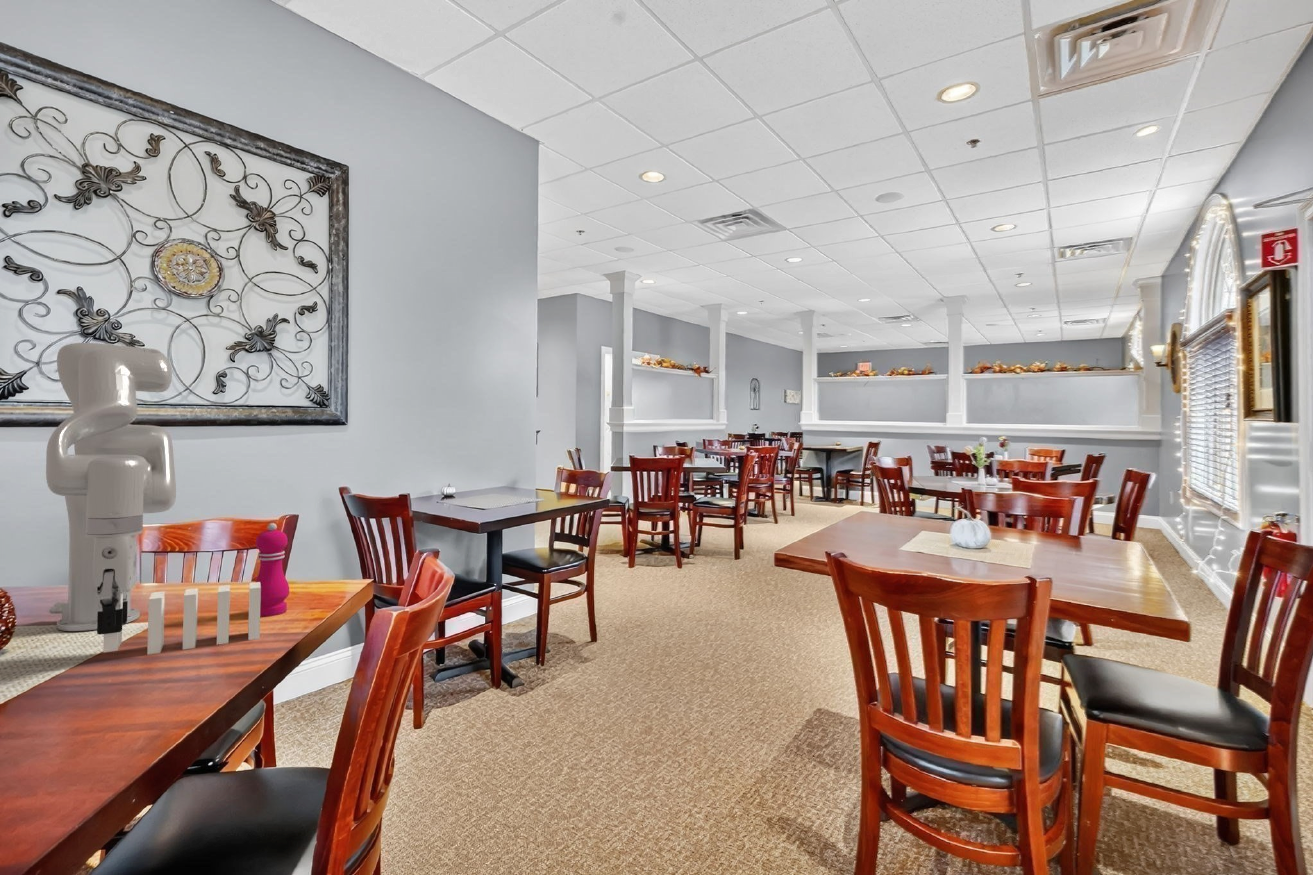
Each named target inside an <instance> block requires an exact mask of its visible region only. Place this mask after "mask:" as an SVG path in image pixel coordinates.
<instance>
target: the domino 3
mask: <svg viewBox="0 0 1313 875" xmlns="http://www.w3.org/2000/svg"><path fill="white" fill-rule="evenodd" d="M230 600H231V585H230V584H226V585H218V590H217V616H216V617H217V618H216V619H217V621H216V622H217V623H216V624H217V625H216V646H218V644H219V645H225V644H229V637H230V609H231V608H230V606H231V605H230V603H231V602H230Z"/></svg>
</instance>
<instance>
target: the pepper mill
mask: <svg viewBox="0 0 1313 875" xmlns="http://www.w3.org/2000/svg"><path fill="white" fill-rule="evenodd" d="M277 526H278V525H277V523H274V522H270V523H268V525H267V526H266V527H267V530H264V531H262V532H260V533H259V534H258V536H257V537H256V540H255V547H256V549H257V550H258V551H259V552H258V554H257V555H258V557H257V559H258V560H259V564H260V567H259V572H258V574H257V575H258V576H257V577H256V580H255V582H260V585H261V602H260V617H272V616H278V615H281V614H282V615H283V614H284V613H285V612H287V608H288V606H287V602H286V601H285V600H286V599H287V598H288V596H289V595H290V585H289V582H288V579H287V578H286V576H285V574H284V571H283V570H284V569H283V559H284V558H285V553H286V552H285V548H286V547H287V545H288V537H287V534H286V533H285V532H283V531H281V530H278V529H277V528H278V527H277ZM255 582H254V583H255Z"/></svg>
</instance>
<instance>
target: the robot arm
mask: <svg viewBox="0 0 1313 875" xmlns="http://www.w3.org/2000/svg"><path fill="white" fill-rule="evenodd" d="M56 366H57V367H56V368H57V372H58V373H57V374H58V378H59V381H60V383H61V386H62V389H63V391H64V393H65V394H66V396H67V398H68V399H69V401H70V404H71V406H72V412H73V414H72V415H70V416H68V418H66V419H65V420H64V421H62V422H61V423H60V424H59V425H58V426H57V427H56V428H55V429H54V431H53V432H52V434H51V435H50V437H49V438H48V442H47V445H46V455H45V457H46V458H45V460H46V461H45V462H46V464H45V467H46V468H45V470H46V471H45V474H46V475H45V478H46V484H47V487H48V489H49V490H50V491H51V492H52V494H55V495H58V496H61V497H64V500H65V504H66V511H67V517H68V531H69V532H68V533H69V546H68V547H69V548H68V549H69V550H68V588H67V589H68V590H67V591H68V592H67V594H68V595H67V597H68V598H67V601H57V602H55V603H54V605H53V606H52V607H50V609H49V613H50V614H61V619H59V620H57V621H56V629H58V630H60V631H63V632H64V631H66V632H85V631H92V630H95V631H96V633H97V635H104V634H109V633H117V632H121V631H122V632H123V625H125V624H128V623H131V622H133V621H135V620H137V619H139V617H140V614H141V613H140V611H141V610H139V609H136V608H131V594H132V593H131V592H132V590H133V588H134V587H135V585H136V583H137V581H138V557H137V556H138V552H137V551H138V550H137V549H138V548H137V544H138V543H137V535H140V534H143V533H144V532H143V531H144V530H143V528H144V524H143V523H144V515H145V514H155V513H164V512H166V511H169V510H170V509H171V508H173V506H174V504H175V502H176V496H177V487H176V486H177V485H176V484H177V483H176V482H177V481H176V475H175V474H176V473H175V460H174V459H175V458H174V457H175V456H174V447H173V441H172V437H171V435H170V433H169V432H168V431H167V429H165V428H164V427H161V426H158V425H150V424H145V425H144V424H132V423H133V422H134V421H135V420H136V418H137V416H138V404H137V403H138V402H137V392H145V393H146V392H147V393H164V392H166V391H168V389H169V388H170V386H171V383H172V378H173V375H172V372H173V371H172V367H171V364H170V361H169V359H168V358H167V356H166V355H165V354H164V353H163V352H161V351H160V350H158V349H154V348H147V347H136V346H128V345H127V346H126V345H117V344H116V345H115V344H109V343H108V344H107V343H97V342H73V343H68V344H65V345H64V346H62V347H61V348H60V349H59V350H58V352H57V355H56ZM72 445H73V448H74V454H69V453H68V450H69V448H70V447H71V446H72ZM117 588H118V591H116V592H113V589H117ZM122 590H123V608H122V609H120V608H121V594H122ZM114 595H116V598H115V597H113V596H114Z"/></svg>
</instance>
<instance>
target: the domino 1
mask: <svg viewBox="0 0 1313 875" xmlns="http://www.w3.org/2000/svg"><path fill="white" fill-rule="evenodd" d="M165 596H166V595H165V591H155V592H151V594H150V596H149V597H148V614H147V615H148V616H147V619H148V620H147V651H146V652H147V656H148V655H149V656H150V655H156V654H161V653H162V649H163V646H164V640H165V638H164V634H165V629H164V628H165V598H166V597H165Z"/></svg>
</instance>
